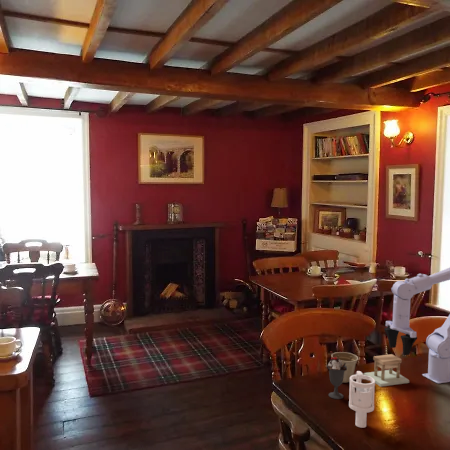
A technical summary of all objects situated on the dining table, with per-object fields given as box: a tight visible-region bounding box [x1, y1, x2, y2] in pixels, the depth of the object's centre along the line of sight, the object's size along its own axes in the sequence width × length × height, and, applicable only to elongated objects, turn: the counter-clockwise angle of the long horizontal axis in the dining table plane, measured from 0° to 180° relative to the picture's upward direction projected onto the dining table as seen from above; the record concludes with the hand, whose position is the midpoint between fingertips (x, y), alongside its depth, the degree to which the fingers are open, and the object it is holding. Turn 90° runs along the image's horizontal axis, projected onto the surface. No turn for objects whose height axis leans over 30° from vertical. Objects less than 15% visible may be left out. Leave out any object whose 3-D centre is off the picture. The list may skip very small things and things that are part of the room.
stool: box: [372, 353, 402, 380], centre depth 167 cm, size 5×8×7 cm
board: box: [363, 369, 410, 388], centre depth 167 cm, size 12×10×1 cm
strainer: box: [348, 370, 376, 429], centre depth 133 cm, size 7×7×15 cm
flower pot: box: [331, 351, 359, 384], centre depth 166 cm, size 9×9×9 cm
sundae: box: [326, 351, 347, 400], centre depth 152 cm, size 7×7×15 cm
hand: (399, 351), depth 167 cm, fingers open, 7 cm apart
